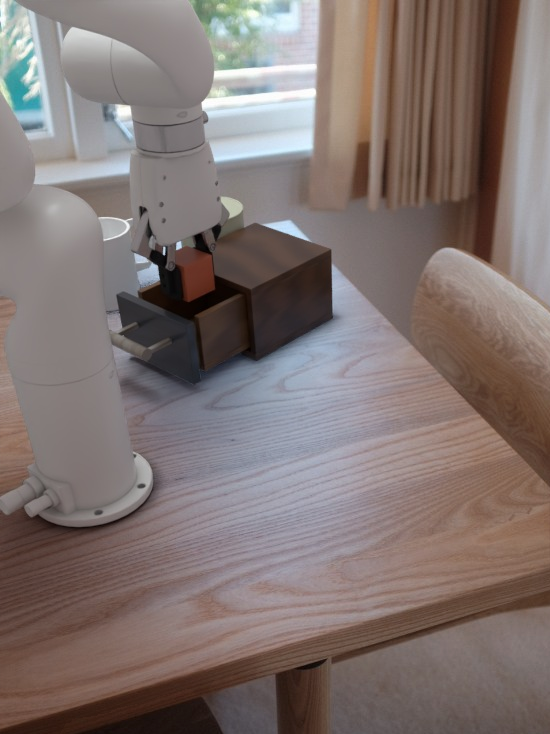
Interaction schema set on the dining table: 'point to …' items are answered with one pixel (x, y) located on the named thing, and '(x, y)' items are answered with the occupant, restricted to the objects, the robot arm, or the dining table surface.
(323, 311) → the cabinet
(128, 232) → the cup
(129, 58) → the robot arm
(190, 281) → the block
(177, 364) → the drawer
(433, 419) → the dining table surface
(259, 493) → the dining table surface
